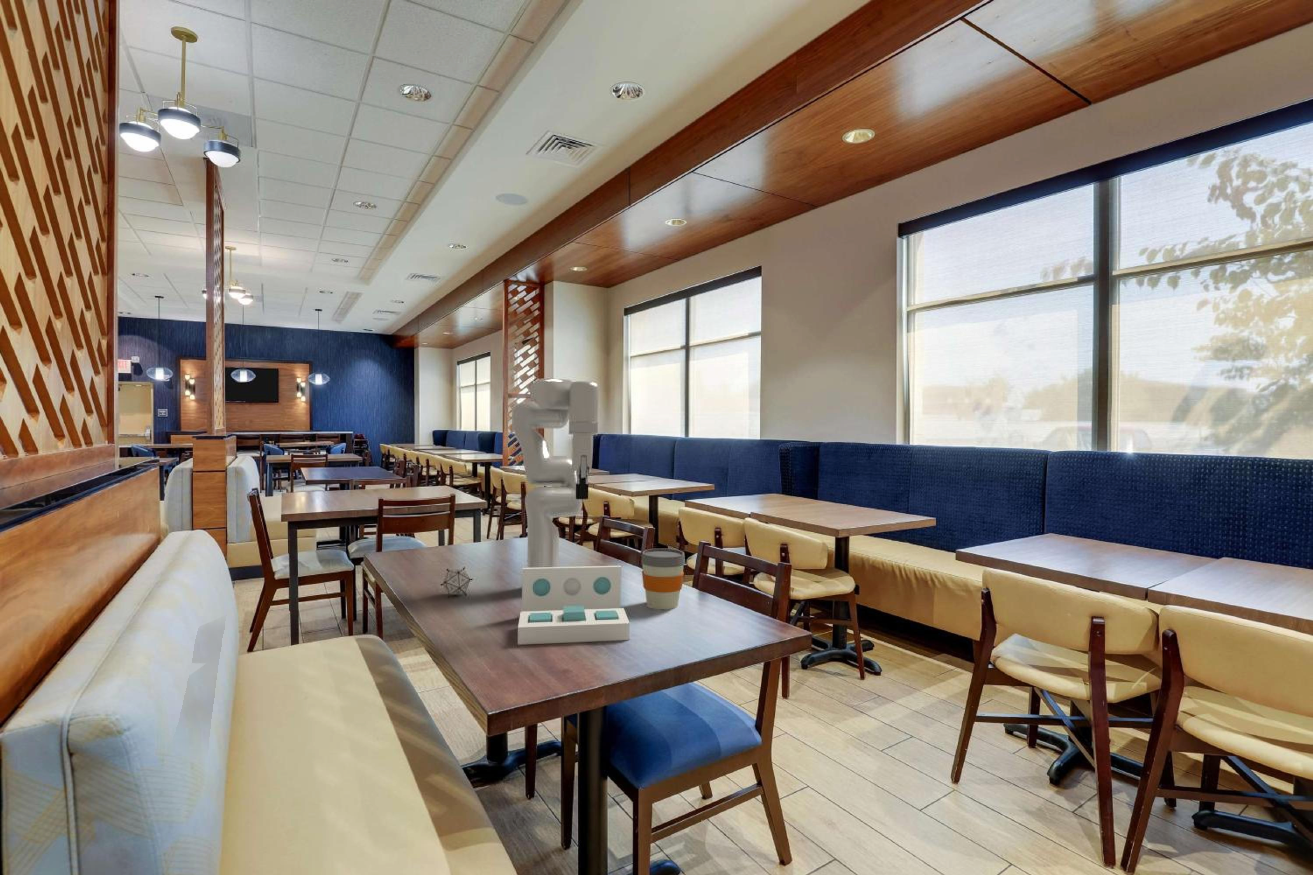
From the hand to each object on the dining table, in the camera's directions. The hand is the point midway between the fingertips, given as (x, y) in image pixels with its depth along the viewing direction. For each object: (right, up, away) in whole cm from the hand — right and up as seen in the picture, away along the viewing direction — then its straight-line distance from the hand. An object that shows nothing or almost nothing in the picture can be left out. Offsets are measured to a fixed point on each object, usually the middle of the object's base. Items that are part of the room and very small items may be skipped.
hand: (581, 498), depth 159 cm
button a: (-9, -31, -12) cm, 34 cm away
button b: (-1, -29, -11) cm, 31 cm away
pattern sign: (-3, -32, +3) cm, 32 cm away
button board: (-1, -32, -10) cm, 34 cm away
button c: (+7, -31, -9) cm, 33 cm away
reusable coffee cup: (+21, -32, +15) cm, 41 cm away
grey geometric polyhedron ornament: (-40, -31, +20) cm, 54 cm away
